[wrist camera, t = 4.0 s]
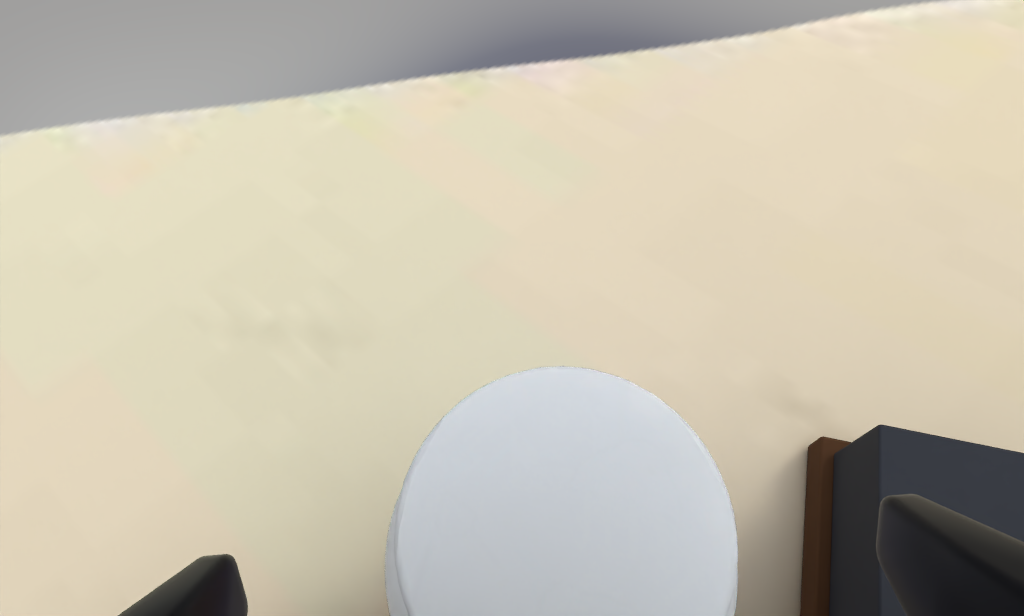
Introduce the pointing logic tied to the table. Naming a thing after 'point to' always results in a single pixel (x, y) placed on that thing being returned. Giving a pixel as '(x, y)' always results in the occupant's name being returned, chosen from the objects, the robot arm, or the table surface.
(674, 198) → the table surface
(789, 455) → the table surface
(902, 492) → the blackboard eraser
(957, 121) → the table surface
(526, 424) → the pill bottle
